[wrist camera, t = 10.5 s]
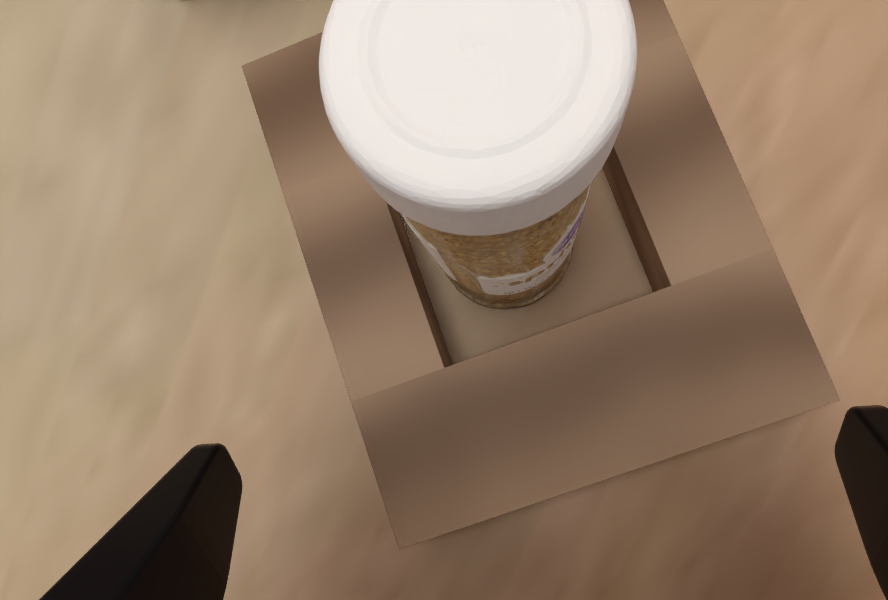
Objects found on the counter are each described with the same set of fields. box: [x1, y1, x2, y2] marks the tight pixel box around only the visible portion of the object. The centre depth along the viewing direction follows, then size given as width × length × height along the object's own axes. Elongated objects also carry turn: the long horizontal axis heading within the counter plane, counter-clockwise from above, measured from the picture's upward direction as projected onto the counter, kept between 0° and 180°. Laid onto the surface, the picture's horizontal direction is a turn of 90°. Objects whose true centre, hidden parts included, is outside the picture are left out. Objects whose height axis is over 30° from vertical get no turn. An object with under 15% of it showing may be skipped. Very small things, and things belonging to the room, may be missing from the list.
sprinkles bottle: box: [319, 0, 637, 308], centre depth 16 cm, size 5×5×13 cm
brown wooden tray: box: [242, 0, 840, 549], centre depth 21 cm, size 16×13×2 cm
